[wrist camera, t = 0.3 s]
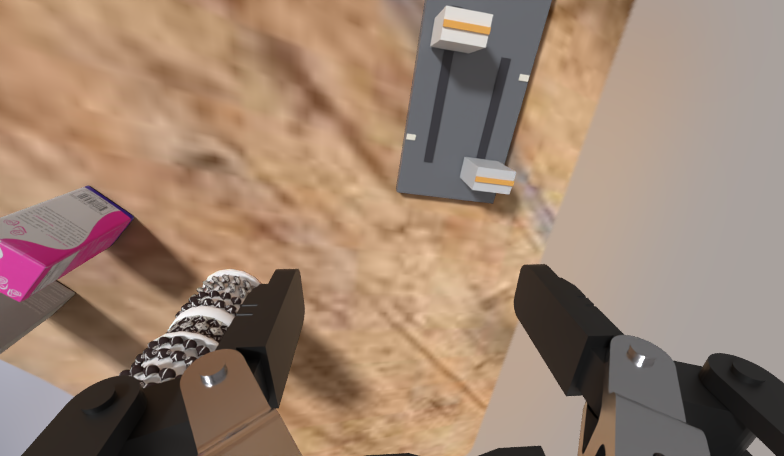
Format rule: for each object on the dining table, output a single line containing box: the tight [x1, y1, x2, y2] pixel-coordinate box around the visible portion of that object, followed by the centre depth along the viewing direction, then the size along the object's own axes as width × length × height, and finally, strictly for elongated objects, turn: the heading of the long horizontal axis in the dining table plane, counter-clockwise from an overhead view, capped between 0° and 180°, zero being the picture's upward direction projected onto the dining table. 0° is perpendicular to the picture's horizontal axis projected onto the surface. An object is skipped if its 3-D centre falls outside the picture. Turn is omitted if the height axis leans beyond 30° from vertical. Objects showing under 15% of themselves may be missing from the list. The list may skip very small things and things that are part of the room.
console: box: [396, 0, 552, 204], centre depth 33 cm, size 24×12×2 cm, turn 172°
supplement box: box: [0, 186, 134, 302], centre depth 32 cm, size 6×6×12 cm
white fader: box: [430, 6, 493, 53], centre depth 28 cm, size 2×4×5 cm, turn 82°
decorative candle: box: [119, 269, 261, 388], centre depth 32 cm, size 9×9×25 cm
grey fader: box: [460, 157, 516, 194], centre depth 34 cm, size 2×4×5 cm, turn 82°
